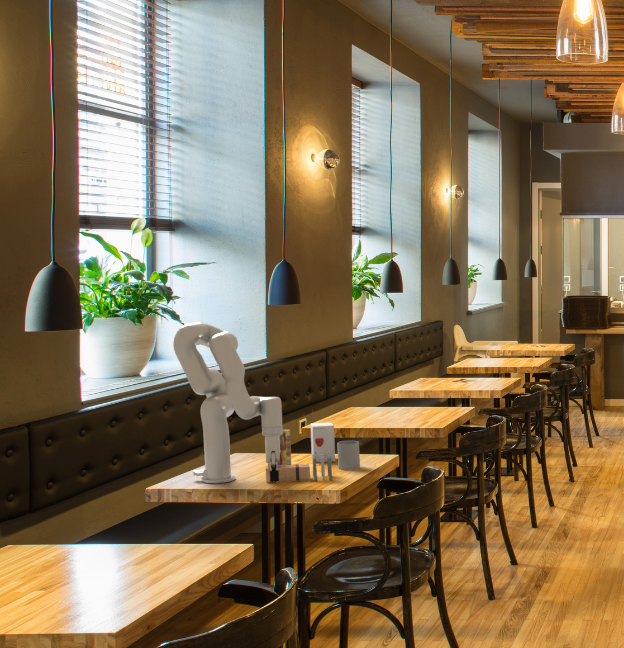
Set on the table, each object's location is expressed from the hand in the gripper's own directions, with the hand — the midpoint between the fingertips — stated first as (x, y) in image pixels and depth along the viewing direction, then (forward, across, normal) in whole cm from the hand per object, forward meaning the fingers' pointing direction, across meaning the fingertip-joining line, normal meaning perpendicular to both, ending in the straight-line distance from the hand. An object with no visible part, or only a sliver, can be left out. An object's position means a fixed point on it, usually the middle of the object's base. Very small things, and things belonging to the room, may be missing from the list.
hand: (274, 479), depth 296 cm
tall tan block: (+1, 0, +5) cm, 5 cm away
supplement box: (+1, -34, +20) cm, 39 cm away
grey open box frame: (+1, 0, +18) cm, 18 cm away
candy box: (+1, -22, +2) cm, 22 cm away
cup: (+1, -16, +29) cm, 33 cm away
